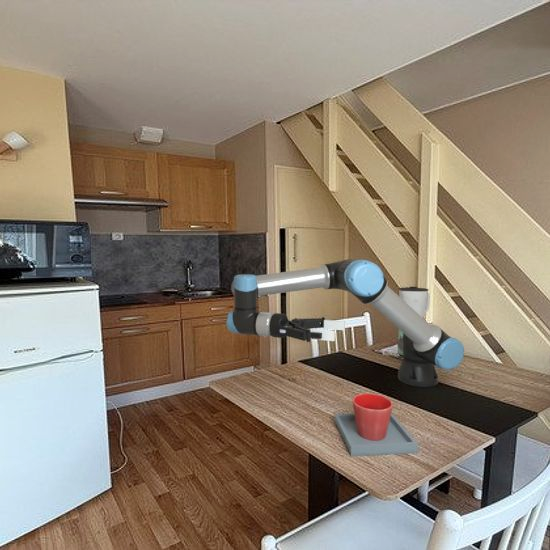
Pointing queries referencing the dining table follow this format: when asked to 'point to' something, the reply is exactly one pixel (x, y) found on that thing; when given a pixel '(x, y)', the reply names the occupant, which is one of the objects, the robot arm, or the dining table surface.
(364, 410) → the flower pot
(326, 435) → the dining table surface
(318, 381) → the dining table surface
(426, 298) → the juicer
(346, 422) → the tray
